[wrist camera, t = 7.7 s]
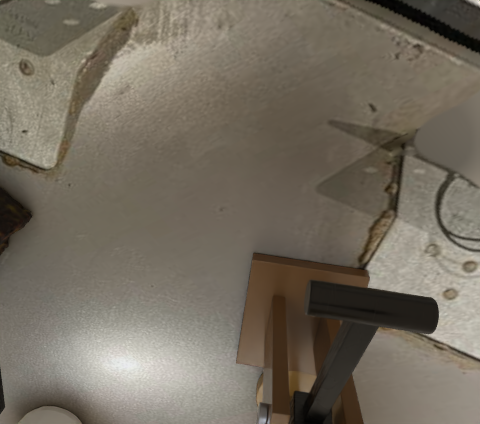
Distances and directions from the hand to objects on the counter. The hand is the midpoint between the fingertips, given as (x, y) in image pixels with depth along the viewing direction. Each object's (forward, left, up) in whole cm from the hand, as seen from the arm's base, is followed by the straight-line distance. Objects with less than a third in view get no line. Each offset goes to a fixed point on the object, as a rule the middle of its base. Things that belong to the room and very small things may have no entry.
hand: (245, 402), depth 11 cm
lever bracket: (+12, +5, -22) cm, 25 cm away
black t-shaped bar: (+6, +5, -10) cm, 12 cm away
